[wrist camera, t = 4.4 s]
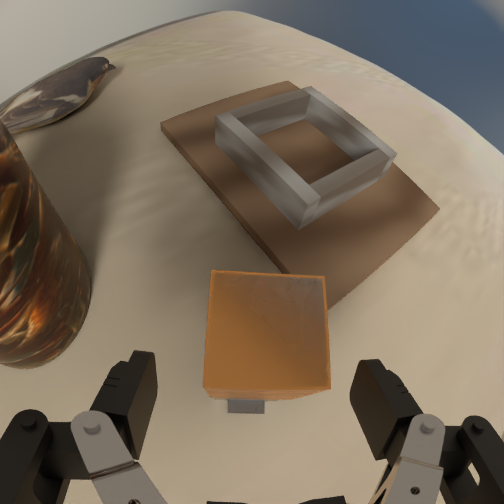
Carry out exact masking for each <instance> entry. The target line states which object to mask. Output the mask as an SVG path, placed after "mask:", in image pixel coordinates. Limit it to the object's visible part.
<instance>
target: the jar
mask: <svg viewBox="0 0 504 504" xmlns="http://www.w3.org/2000/svg"><path fill="white" fill-rule="evenodd" d="M90 295H91V279H90V272H89V268H88V264H87V262H86V259H85V257H84V255H83V253H82V251H81V249H80V248H79V246H78V245H77V243H76V241H75V240H74V238H73V237H72V235H71V234H70V232H69V231H68V229H67V228H66V226H65V225H64V223H63V221H62V220H61V218H60V217H59V215H58V214H57V212H56V210H55V209H54V207H53V206H52V204H51V202H50V201H49V199H48V197H47V196H46V194H45V193H44V191H43V189H42V188H41V186H40V184H39V183H38V181H37V179H36V177H35V176H34V174H33V172H32V171H31V169H30V167H29V165H28V164H27V162H26V160H25V158H24V157H23V155H22V153H21V151H20V149H19V148H18V146H17V144H16V143H15V141H14V139H13V137H12V136H11V134H10V132H9V131H8V129H7V127H6V126H5V125H4V123H3V122H2V120H1V119H0V364H2V365H5V366H8V367H12V368H18V369H30V368H35V367H39V366H42V365H44V364H46V363H48V362H50V361H52V360H54V359H55V358H56V357H58V356H59V355H60V354H61V353H62V352H64V351H65V350H66V348H67V347H68V346H69V345H70V344H71V343H72V341H73V340H74V339H75V337H76V336H77V334H78V332H79V331H80V329H81V327H82V325H83V322H84V320H85V317H86V314H87V311H88V307H89V302H90Z"/></svg>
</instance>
